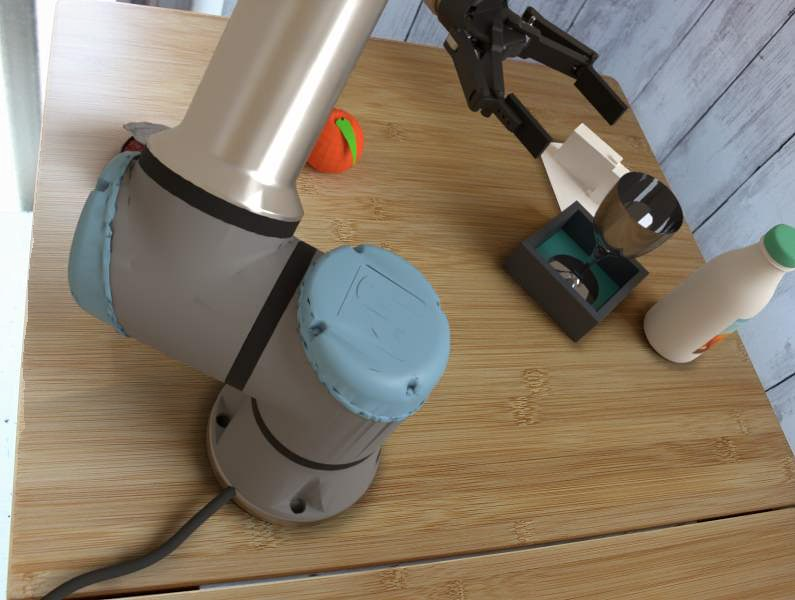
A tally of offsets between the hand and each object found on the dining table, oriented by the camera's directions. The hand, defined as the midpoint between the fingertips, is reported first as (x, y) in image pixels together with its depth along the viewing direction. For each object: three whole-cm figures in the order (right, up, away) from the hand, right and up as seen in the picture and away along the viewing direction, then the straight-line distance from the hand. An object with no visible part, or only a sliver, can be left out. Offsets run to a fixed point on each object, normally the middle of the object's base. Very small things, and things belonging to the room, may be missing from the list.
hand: (583, 132), depth 88 cm
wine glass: (+1, -15, +9) cm, 18 cm away
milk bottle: (+13, -22, +11) cm, 28 cm away
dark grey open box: (0, -15, +10) cm, 18 cm away
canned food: (-43, -6, -5) cm, 43 cm away
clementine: (-28, -3, +5) cm, 28 cm away
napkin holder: (+5, -3, +20) cm, 21 cm away
